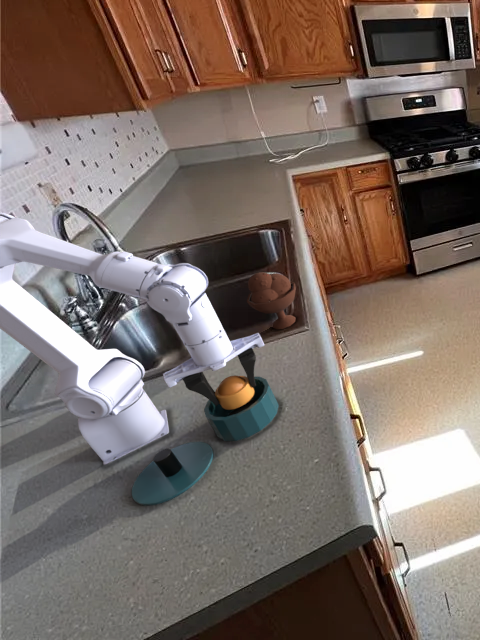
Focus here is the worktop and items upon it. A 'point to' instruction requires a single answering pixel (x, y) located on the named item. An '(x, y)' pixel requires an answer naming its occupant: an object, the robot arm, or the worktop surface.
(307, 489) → the worktop surface
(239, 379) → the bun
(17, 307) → the robot arm
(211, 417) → the pot
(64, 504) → the worktop surface
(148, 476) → the lid
